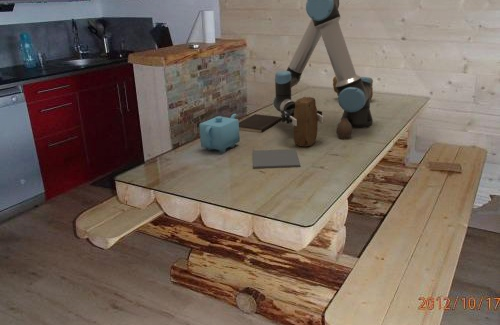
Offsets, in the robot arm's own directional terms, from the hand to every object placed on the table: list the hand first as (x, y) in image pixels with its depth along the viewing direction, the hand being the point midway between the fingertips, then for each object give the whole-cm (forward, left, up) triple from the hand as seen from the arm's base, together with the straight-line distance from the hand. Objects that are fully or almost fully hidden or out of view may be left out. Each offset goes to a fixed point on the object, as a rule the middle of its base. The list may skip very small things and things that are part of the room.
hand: (309, 121), depth 187 cm
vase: (-17, -11, -12) cm, 23 cm away
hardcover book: (+21, -36, -12) cm, 44 cm away
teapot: (+37, -5, -12) cm, 39 cm away
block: (+1, -4, -11) cm, 12 cm away
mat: (+15, +13, -11) cm, 23 cm away
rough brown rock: (-33, -74, -12) cm, 82 cm away
